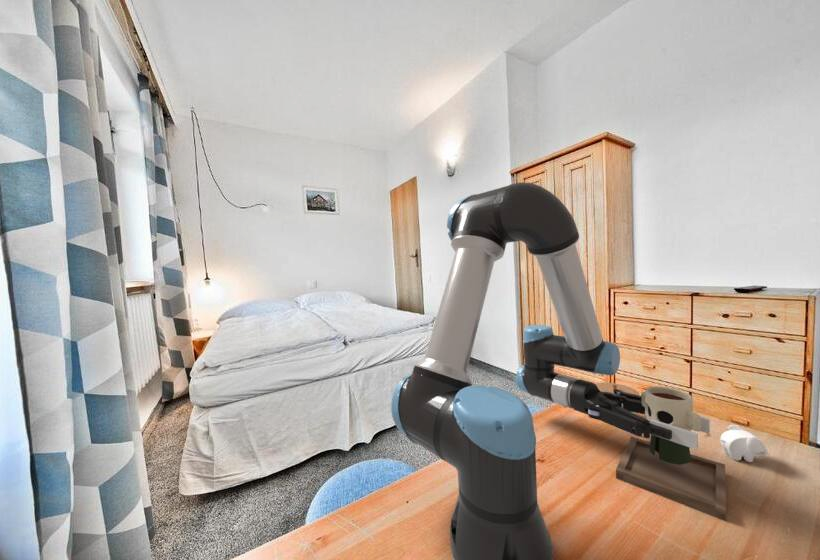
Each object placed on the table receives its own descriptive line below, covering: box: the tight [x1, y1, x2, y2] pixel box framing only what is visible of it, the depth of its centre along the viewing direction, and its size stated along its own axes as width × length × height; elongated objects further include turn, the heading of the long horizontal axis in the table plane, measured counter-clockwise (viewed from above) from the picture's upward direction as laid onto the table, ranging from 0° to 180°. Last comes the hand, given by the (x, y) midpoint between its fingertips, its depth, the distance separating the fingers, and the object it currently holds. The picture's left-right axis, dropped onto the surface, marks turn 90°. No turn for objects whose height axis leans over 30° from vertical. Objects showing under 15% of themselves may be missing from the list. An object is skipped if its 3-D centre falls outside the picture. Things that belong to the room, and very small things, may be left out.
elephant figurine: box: [716, 424, 769, 463], centre depth 63 cm, size 7×8×6 cm
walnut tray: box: [615, 436, 727, 522], centre depth 59 cm, size 15×15×2 cm
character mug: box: [640, 385, 701, 465], centre depth 59 cm, size 11×7×13 cm, turn 10°
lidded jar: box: [595, 382, 640, 415], centre depth 81 cm, size 11×11×9 cm
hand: (703, 433), depth 54 cm, fingers closed on character mug, 7 cm apart
